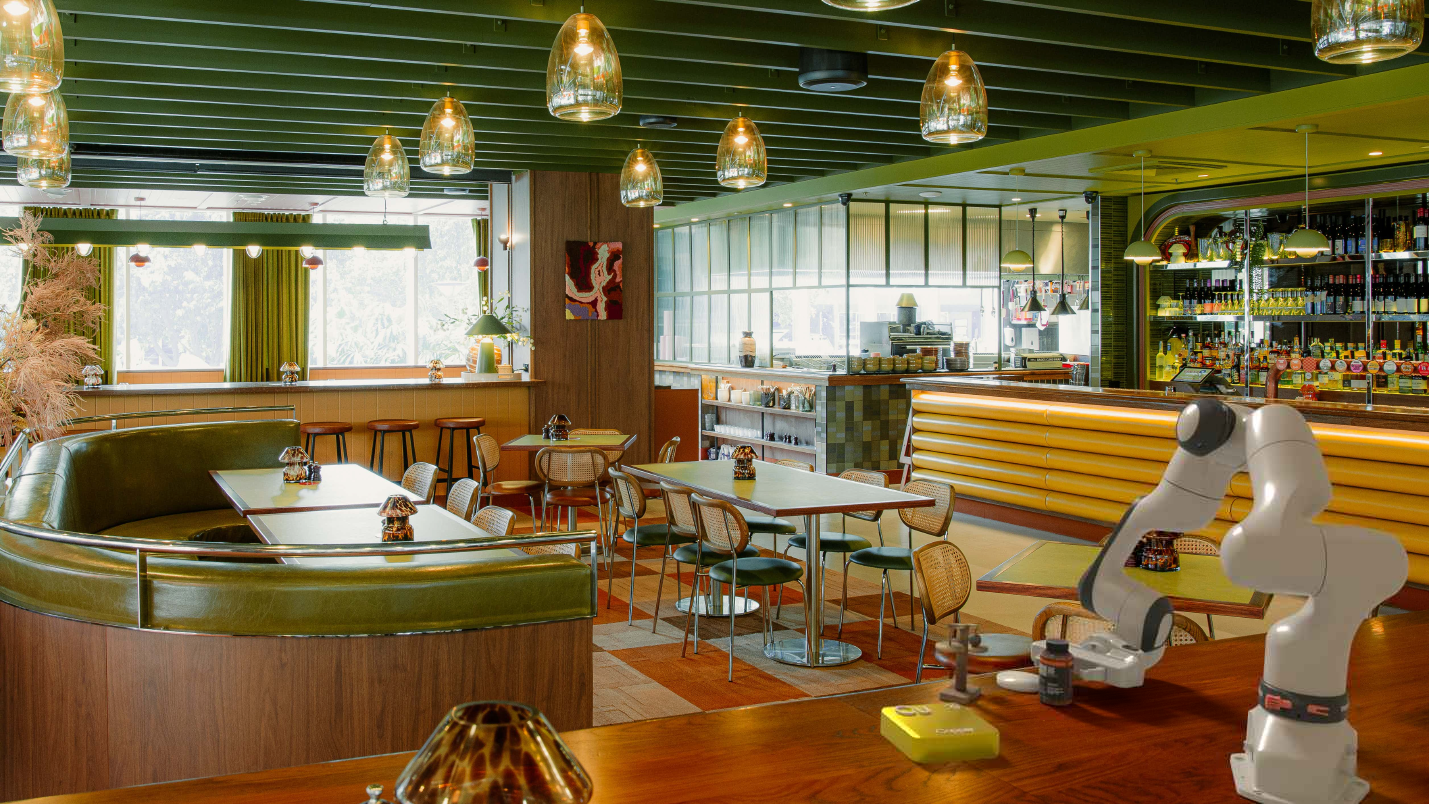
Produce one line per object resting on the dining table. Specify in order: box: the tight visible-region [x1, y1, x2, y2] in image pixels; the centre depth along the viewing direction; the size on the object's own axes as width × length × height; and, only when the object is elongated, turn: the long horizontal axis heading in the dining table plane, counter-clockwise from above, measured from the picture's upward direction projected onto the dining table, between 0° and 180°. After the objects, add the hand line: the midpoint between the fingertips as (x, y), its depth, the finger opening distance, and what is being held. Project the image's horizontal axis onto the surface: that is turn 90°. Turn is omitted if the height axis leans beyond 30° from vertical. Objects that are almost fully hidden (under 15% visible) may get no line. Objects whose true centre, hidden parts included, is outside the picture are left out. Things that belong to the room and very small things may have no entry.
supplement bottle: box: [1037, 637, 1074, 707], centre depth 198 cm, size 6×6×11 cm
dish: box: [996, 670, 1039, 693], centre depth 207 cm, size 9×9×1 cm
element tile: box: [880, 702, 1001, 765], centre depth 176 cm, size 15×15×5 cm
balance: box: [934, 623, 989, 706], centre depth 199 cm, size 19×5×15 cm, turn 148°
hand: (1059, 668), depth 198 cm, fingers open, 8 cm apart
